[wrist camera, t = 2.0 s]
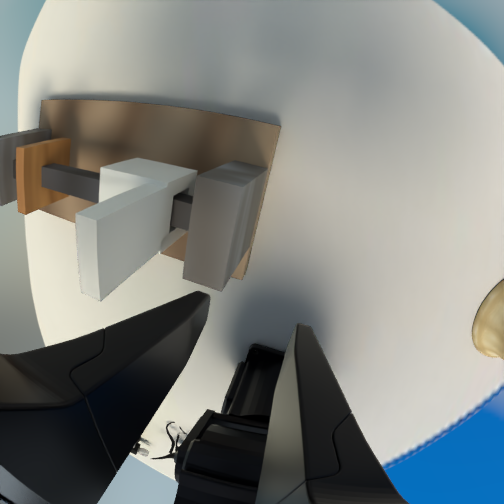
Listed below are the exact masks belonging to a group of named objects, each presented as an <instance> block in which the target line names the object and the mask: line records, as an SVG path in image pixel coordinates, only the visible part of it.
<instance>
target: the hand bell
mask: <svg viewBox="0 0 504 504" xmlns="http://www.w3.org/2000/svg"><path fill="white" fill-rule="evenodd" d="M472 339H473V343H474V345H475V347H476V349H477V350H478V351H479V352H480V353H482V354H483V355H485V356H488V357H500V358H502V359H503V360H504V280H503V281H501V282H500V283H499V284H498V285H497V286H496V287H495V288H494V289H493V290H492V291H491V292H490V293H489V295H488V296H487V297H486V299H485V300H484V301H483V303H482V305H481V306H480V308H479V310H478V312H477V315H476V318H475V321H474V324H473V329H472Z"/></svg>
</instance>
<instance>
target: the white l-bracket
mask: <svg viewBox="0 0 504 504" xmlns="http://www.w3.org/2000/svg"><path fill="white" fill-rule="evenodd" d="M197 172H198V171H197V170H193V169H188V168H184V167H179V166H175V165H170V164H166V163H161V162H156V161H152V160H147V159H142V158H134V159H130V160H126V161H122V162H118V163H114V164H111V165H107V166H103V167H101V168H100V185H99V203H97V204H95V205H93V206H91V207H89V208H86V209H84V210H82V211H80V212H78V213H76V241H77V256H78V269H79V279H80V288H81V293H83V294H85V295H88V296H90V297H92V298H94V299H96V300H98V301H100V302H101V301H102V300H103V299H104V298H105V297H106V296H108V295H109V294H110V293H111V292H112V291H113V290H114V289H116V288H117V287H118V286H119V285H120V284H121V283H122V282H124V281H125V280H126V279H127V278H128V277H129V276H131V275H132V274H133V273H134V272H135V271H136V270H138V269H139V268H140V267H141V266H142V265H144V264H145V263H146V262H147V261H148V260H150V259H151V258H152V257H153V256H154V255H156V254H157V253H158V254H161V253H162V252H163V251H164V250H166V249H167V248H168V247H169V246H170V245H172V244H173V243H174V242H175V241H177V240H178V239H179V238H180V237H181V236H183V235H184V234H185V233H186V232H188V231H186V230H183V229H180V228H177V227H173V226H170V220H171V212H172V204H173V196H174V195H176V194H178V193H183V194H187V195H191V196H194V190H195V184H196V178H197Z"/></svg>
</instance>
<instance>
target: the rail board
mask: <svg viewBox="0 0 504 504" xmlns="http://www.w3.org/2000/svg"><path fill="white" fill-rule="evenodd" d="M280 128H281V126H277V125H273V124H269V123H264V122H260V121H255V120H251V119H246V118H241V117H236V116H231V115H225V114H220V113H214V112H208V111H202V110H195V109H189V108H181V107H174V106H166V105H157V104H147V103H136V102H123V101H106V100H42V102H41V111H40V121H39V129H33V130H27V131H22V132H17V133H12V134H7V135H2V136H0V206H3V205H5V204H8V203H10V202H12V201H15V200H17V203H18V212H20V213H22V214H25V215H27V214H29V213H31V212H33V211H36V210H38V209H39V210H42V211H44V212H47V213H49V214H52V215H55V216H57V217H60V218H63V219H65V220H68V221H71V222H73V223H76V213H78V212H80V211H82V210H84V209H86V208H89V207H91V206H93V205H95V204H97V203H99V185H100V168H101V167H103V166H107V165H111V164H114V163H118V162H122V161H126V160H130V159H134V158H142V159H147V160H152V161H156V162H161V163H166V164H170V165H175V166H179V167H184V168H188V169H193V170H197V171H198V172H197V178H196V184H195V190H194V196H191V195H187V194H183V193H178V194H176V195H174V196H173V204H172V212H171V220H170V226H173V227H177V228H180V229H183V230H186V231H188V232H186V233H185V234H184V235H183V236H181V237H180V238H179V239H178V240H177V241H175V242H174V243H173V244H172V245H170V246H169V247H168V248H167V249H166V250H164V251H163V252H162V253H161V254H164V255H167V256H170V257H173V258H176V259H178V260H181V261H184V270H183V279H186V280H189V281H192V282H195V283H197V284H200V285H203V286H206V287H209V288H212V289H215V290H218V291H221V292H222V290H223V289H224V287H225V285H226V284H227V282H228V281H229V279H230V277H233V278H236V279H240V280H242V279H243V277H244V275H245V273H246V270H247V265H248V261H249V257H250V253H251V249H252V245H253V240H254V236H255V232H256V228H257V224H258V220H259V215H260V211H261V207H262V203H263V199H264V195H265V190H266V186H267V182H268V178H269V174H270V170H271V166H272V161H273V157H274V153H275V149H276V145H277V141H278V137H279V132H280Z"/></svg>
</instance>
